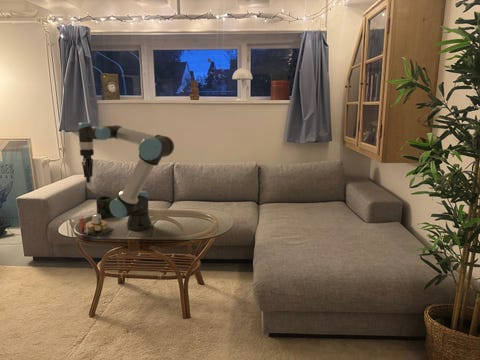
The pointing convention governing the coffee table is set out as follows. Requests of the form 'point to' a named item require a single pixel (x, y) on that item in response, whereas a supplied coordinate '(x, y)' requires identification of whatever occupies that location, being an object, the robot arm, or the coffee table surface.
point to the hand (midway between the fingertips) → (89, 187)
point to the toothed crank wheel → (92, 227)
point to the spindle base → (97, 221)
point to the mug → (103, 205)
